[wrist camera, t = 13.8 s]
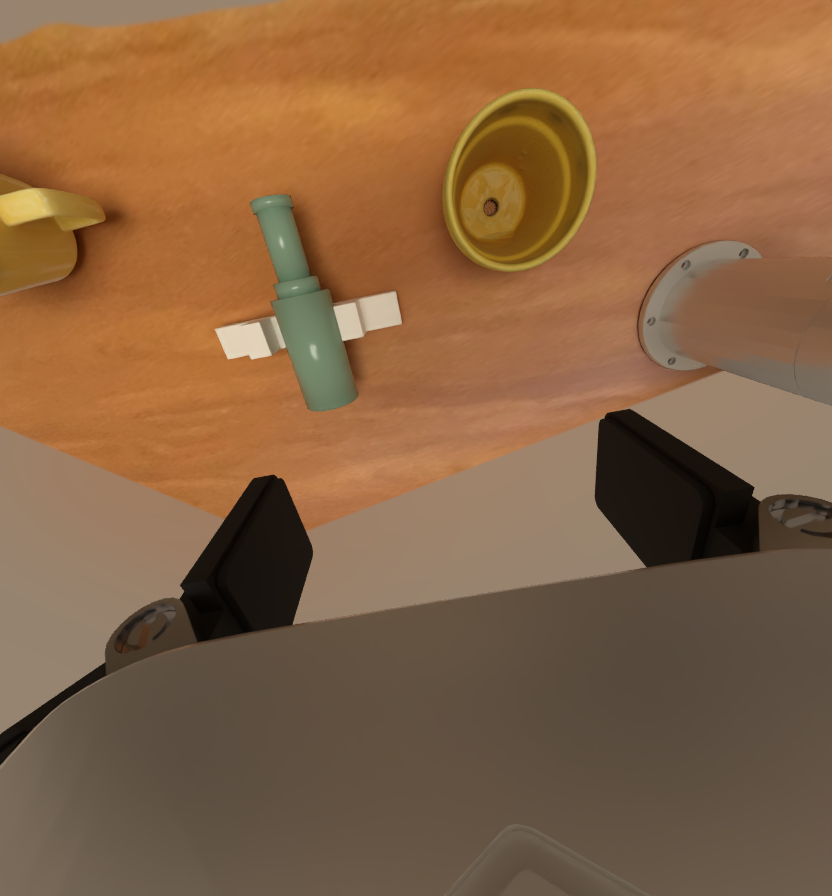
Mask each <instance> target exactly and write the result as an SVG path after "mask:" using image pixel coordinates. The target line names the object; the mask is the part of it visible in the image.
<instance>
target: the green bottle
mask: <svg viewBox="0 0 832 896" xmlns="http://www.w3.org/2000/svg"><path fill="white" fill-rule="evenodd" d="M250 206H251V209H252V212H253V214H254V215H256V216H257V219H258V222H259V225H260V228H261V231H262V234H263V237H264V240H265V243H266V246H267V249H268V252H269V255H270V258H271V261H272V264H273V267H274V270H275V273H276V276H277V279H278V282H279V283H278V284H274V285H273V286H274V289H275V292H276V294H277V297H278V299H277V300H273V301H270V303H271V306H272V308H273V311H274V314H275V317H276V320H277V323H278V325H279V328H280V331H281V334H282V337H283V340H284V343H285V345H286V348H287V351H288V354H289V357H290V360H291V362H292V365H293V368H294V371H295V374H296V377H297V380H298V382H299V385H300V388H301V391H302V394H303V397H304V399H305V402H306V405H307V408H308V410H310V411H327V410H332V409H336V408H339V407H342V406H345V405H347V404H349V403H351V402H353V401H354V400H355V399H356V398H357V397H358V391H357V388H356V384H355V380H354V377H353V373H352V370H351V366H350V362H349V359H348V355H347V351H346V348H345V344H344V341H342V337H341V334H340V330H339V327H338V323H337V319H336V316H335V312H334V308H333V307H334V304H333V300H332V297H331V293H330V290H329V289H323V290H321V287H320V283H319V280H318V276H311V273H310V270H309V266H308V263H307V259H306V256H305V253H304V249H303V246H302V242H301V239H300V235H299V232H298V229H297V225H296V222H295V218H294V215H293V211H292V209H293V208H294V206H293V202H292V199H291V196H290V195H270V196H265V197H261V198H257V199H254V200H252V201H251V202H250Z"/></svg>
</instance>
